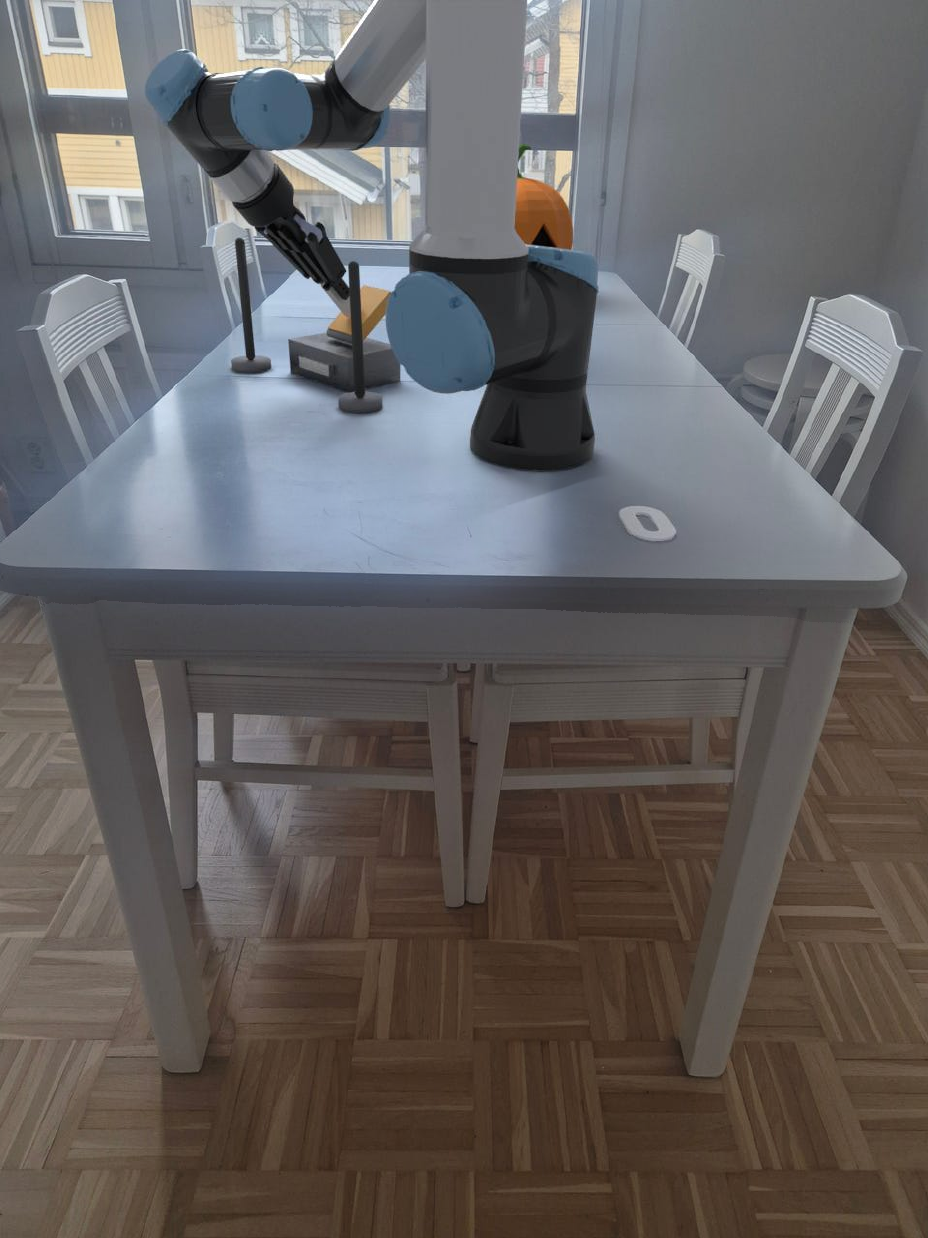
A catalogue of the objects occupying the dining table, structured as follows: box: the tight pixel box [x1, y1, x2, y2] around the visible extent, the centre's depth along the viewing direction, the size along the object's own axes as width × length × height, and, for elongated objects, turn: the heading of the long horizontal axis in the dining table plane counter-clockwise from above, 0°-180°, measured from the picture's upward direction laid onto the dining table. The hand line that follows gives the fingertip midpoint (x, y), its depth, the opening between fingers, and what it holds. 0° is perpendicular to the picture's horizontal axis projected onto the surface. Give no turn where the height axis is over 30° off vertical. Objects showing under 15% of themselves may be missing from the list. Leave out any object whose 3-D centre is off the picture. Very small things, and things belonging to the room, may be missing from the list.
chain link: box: [618, 505, 677, 540], centre depth 85 cm, size 8×1×5 cm
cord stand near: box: [337, 260, 383, 414], centre depth 110 cm, size 6×6×19 cm
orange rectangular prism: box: [325, 284, 392, 344], centre depth 125 cm, size 2×6×10 cm
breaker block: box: [288, 332, 401, 393], centre depth 126 cm, size 11×14×5 cm
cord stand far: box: [230, 237, 272, 374], centre depth 125 cm, size 6×6×19 cm
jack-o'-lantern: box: [514, 143, 574, 250], centre depth 185 cm, size 28×28×30 cm
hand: (353, 310), depth 125 cm, fingers closed
